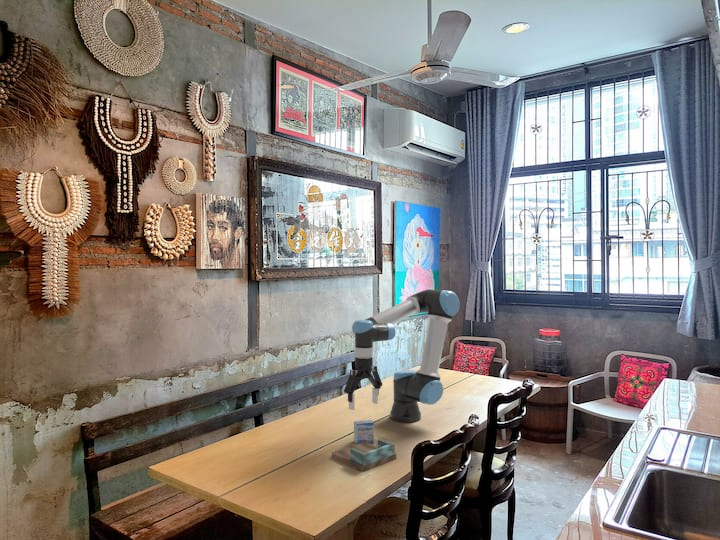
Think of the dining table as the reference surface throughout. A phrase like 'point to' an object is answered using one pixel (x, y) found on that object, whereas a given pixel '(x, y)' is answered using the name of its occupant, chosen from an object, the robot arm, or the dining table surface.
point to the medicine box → (364, 431)
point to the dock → (366, 454)
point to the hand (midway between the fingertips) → (363, 406)
